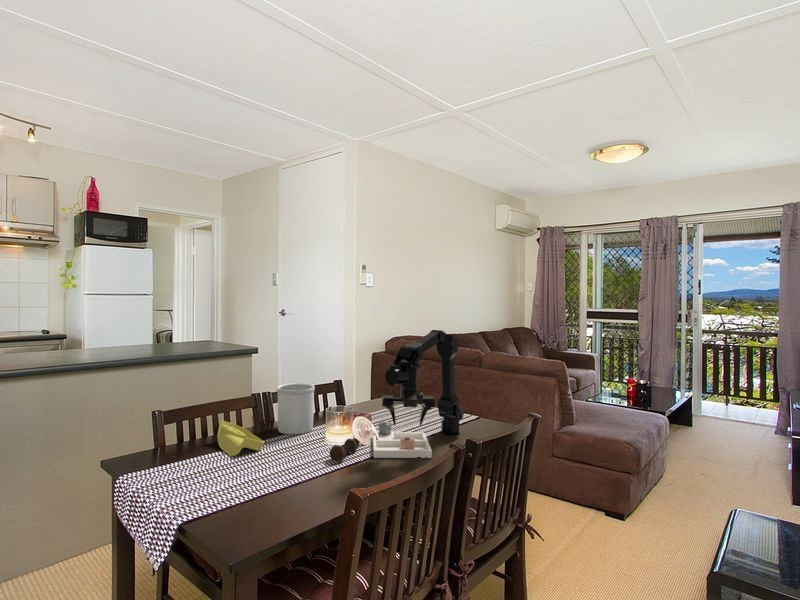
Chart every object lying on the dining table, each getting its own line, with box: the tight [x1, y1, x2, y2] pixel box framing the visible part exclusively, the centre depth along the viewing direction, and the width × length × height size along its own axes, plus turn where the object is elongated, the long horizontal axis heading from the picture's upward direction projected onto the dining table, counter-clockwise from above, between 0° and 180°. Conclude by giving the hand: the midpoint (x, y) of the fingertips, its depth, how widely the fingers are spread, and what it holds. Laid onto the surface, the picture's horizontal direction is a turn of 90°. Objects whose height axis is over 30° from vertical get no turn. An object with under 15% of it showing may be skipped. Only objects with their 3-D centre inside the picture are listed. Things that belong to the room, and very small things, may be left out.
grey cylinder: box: [378, 420, 392, 435], centre depth 184 cm, size 5×5×5 cm
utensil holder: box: [276, 382, 316, 435], centre depth 187 cm, size 15×15×18 cm
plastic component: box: [217, 420, 265, 457], centre depth 166 cm, size 20×7×10 cm
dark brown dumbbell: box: [329, 438, 361, 462], centre depth 162 cm, size 6×5×15 cm
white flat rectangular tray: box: [372, 429, 433, 459], centre depth 174 cm, size 20×29×2 cm
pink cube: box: [400, 437, 415, 450], centre depth 166 cm, size 5×5×5 cm
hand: (407, 425), depth 165 cm, fingers open, 9 cm apart
